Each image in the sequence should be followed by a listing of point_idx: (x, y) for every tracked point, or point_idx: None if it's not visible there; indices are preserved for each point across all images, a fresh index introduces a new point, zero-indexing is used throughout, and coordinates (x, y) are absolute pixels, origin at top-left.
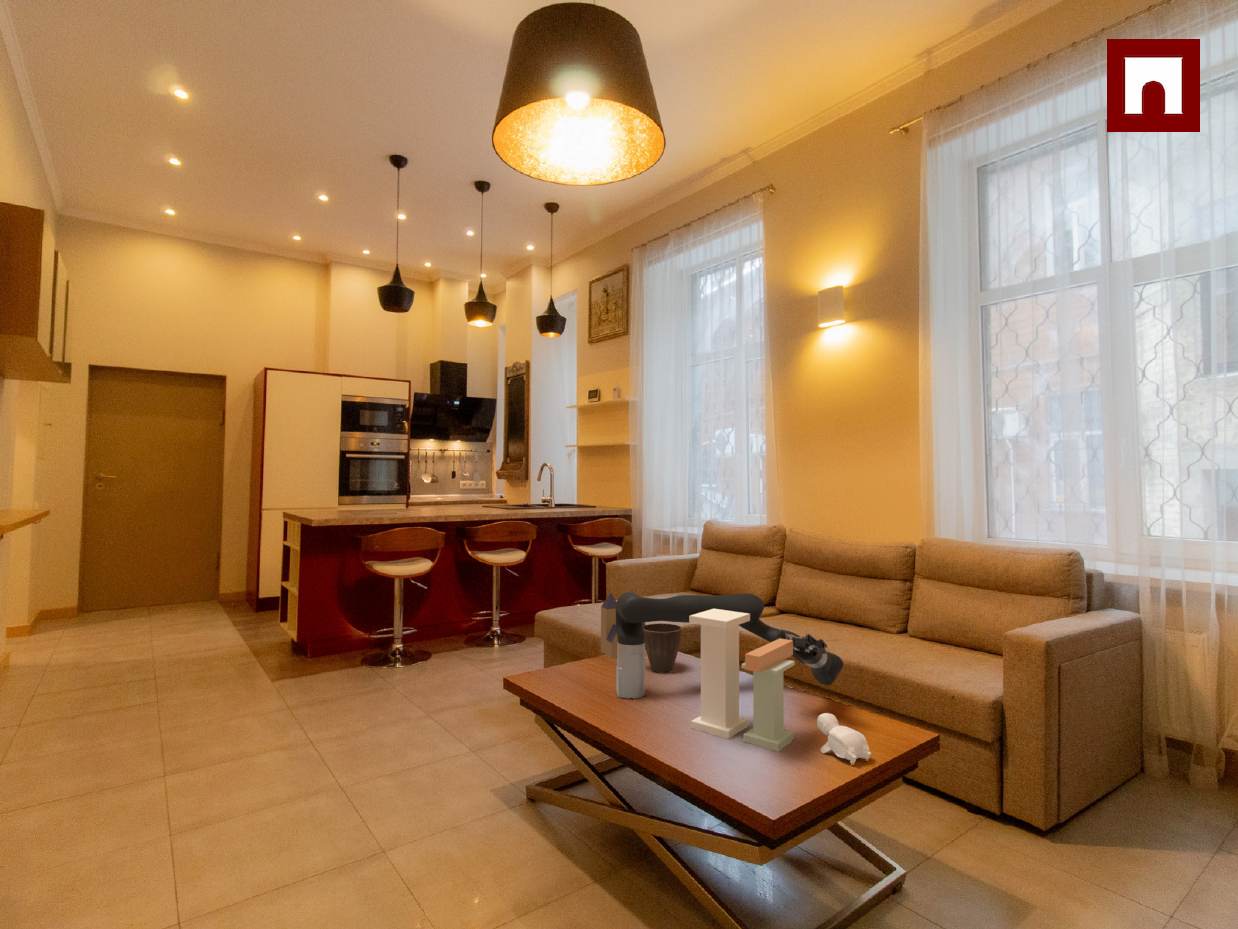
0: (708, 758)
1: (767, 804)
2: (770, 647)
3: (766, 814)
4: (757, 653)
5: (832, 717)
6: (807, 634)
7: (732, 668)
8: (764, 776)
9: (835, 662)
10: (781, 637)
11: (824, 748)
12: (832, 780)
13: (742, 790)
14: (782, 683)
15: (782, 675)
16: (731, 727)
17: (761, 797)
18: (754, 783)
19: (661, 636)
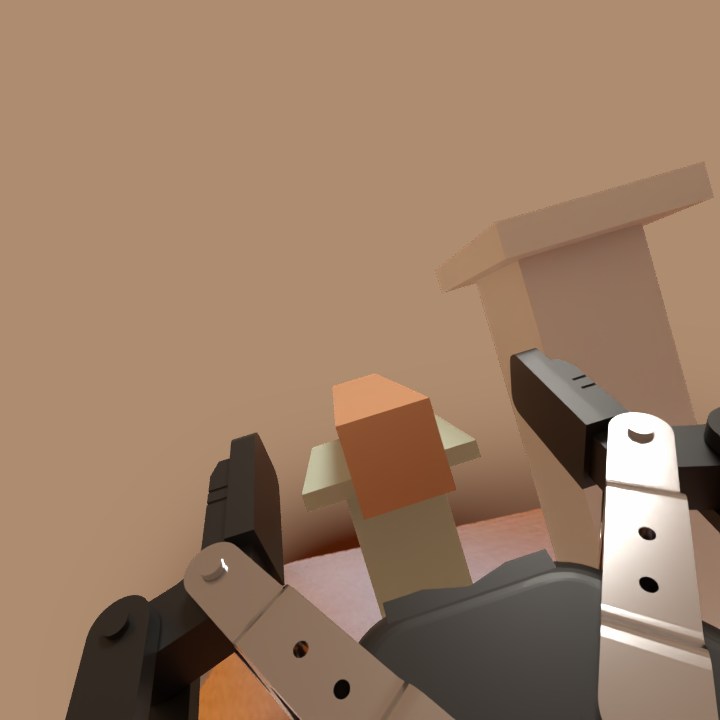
0: (473, 564)
1: (299, 573)
2: (358, 390)
3: (291, 564)
4: (352, 382)
5: None
6: (247, 438)
7: (544, 446)
8: (345, 607)
9: None
10: (533, 428)
11: None
12: (210, 704)
13: (349, 565)
14: (362, 551)
15: (352, 518)
16: None
17: (315, 575)
18: (346, 584)
19: None
